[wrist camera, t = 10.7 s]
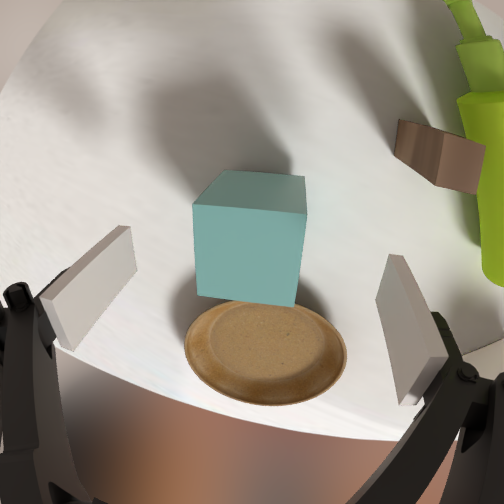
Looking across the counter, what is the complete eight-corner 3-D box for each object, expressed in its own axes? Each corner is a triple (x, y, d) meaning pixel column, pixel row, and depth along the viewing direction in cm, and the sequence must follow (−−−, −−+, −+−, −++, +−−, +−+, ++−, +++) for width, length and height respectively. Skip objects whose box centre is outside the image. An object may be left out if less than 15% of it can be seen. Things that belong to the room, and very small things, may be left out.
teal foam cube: (304, 176, 19) (307, 214, 13) (296, 248, 21) (294, 307, 16) (224, 169, 19) (192, 204, 14) (223, 240, 22) (197, 295, 16)
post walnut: (432, 127, 17) (486, 145, 10) (426, 162, 18) (475, 195, 12) (398, 119, 17) (444, 132, 11) (393, 156, 18) (434, 185, 12)
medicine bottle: (455, 356, 26) (486, 448, 16) (506, 335, 24) (545, 417, 13) (450, 390, 29) (471, 470, 18) (496, 371, 27) (523, 445, 16)
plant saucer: (231, 249, 24) (224, 266, 21) (376, 325, 25) (381, 346, 23) (173, 351, 31) (165, 368, 29) (289, 401, 33) (288, 419, 30)
